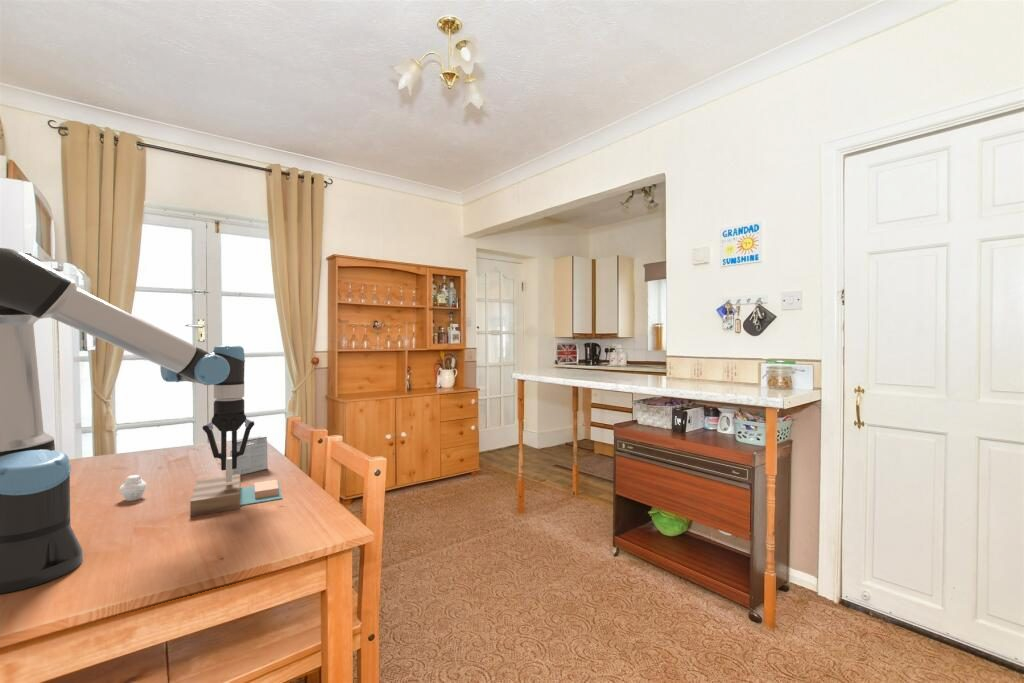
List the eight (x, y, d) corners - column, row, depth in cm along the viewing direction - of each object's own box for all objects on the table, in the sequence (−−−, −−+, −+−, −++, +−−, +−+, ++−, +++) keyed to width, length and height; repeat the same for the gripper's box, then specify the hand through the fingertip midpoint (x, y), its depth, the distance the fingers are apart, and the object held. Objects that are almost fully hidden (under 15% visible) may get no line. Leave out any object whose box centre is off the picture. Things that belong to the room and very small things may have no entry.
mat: (282, 498, 130) (282, 497, 130) (237, 506, 125) (237, 505, 125) (278, 483, 144) (278, 482, 144) (238, 489, 138) (238, 488, 138)
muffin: (123, 497, 132) (122, 473, 132) (149, 493, 135) (149, 470, 134) (116, 504, 126) (116, 479, 126) (144, 500, 129) (143, 476, 129)
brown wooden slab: (239, 508, 123) (239, 493, 123) (190, 516, 118) (190, 501, 118) (240, 487, 140) (240, 474, 140) (197, 493, 135) (197, 480, 135)
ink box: (265, 468, 161) (265, 435, 161) (268, 469, 159) (267, 436, 159) (229, 475, 152) (228, 441, 152) (231, 477, 150) (231, 442, 150)
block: (254, 491, 130) (255, 498, 130) (278, 488, 133) (278, 494, 133) (254, 482, 137) (254, 489, 138) (276, 479, 141) (276, 485, 141)
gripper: (255, 396, 137) (254, 473, 137) (203, 398, 130) (202, 480, 130) (255, 399, 130) (255, 480, 130) (200, 402, 124) (200, 488, 124)
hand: (229, 480), depth 130 cm, fingers closed
